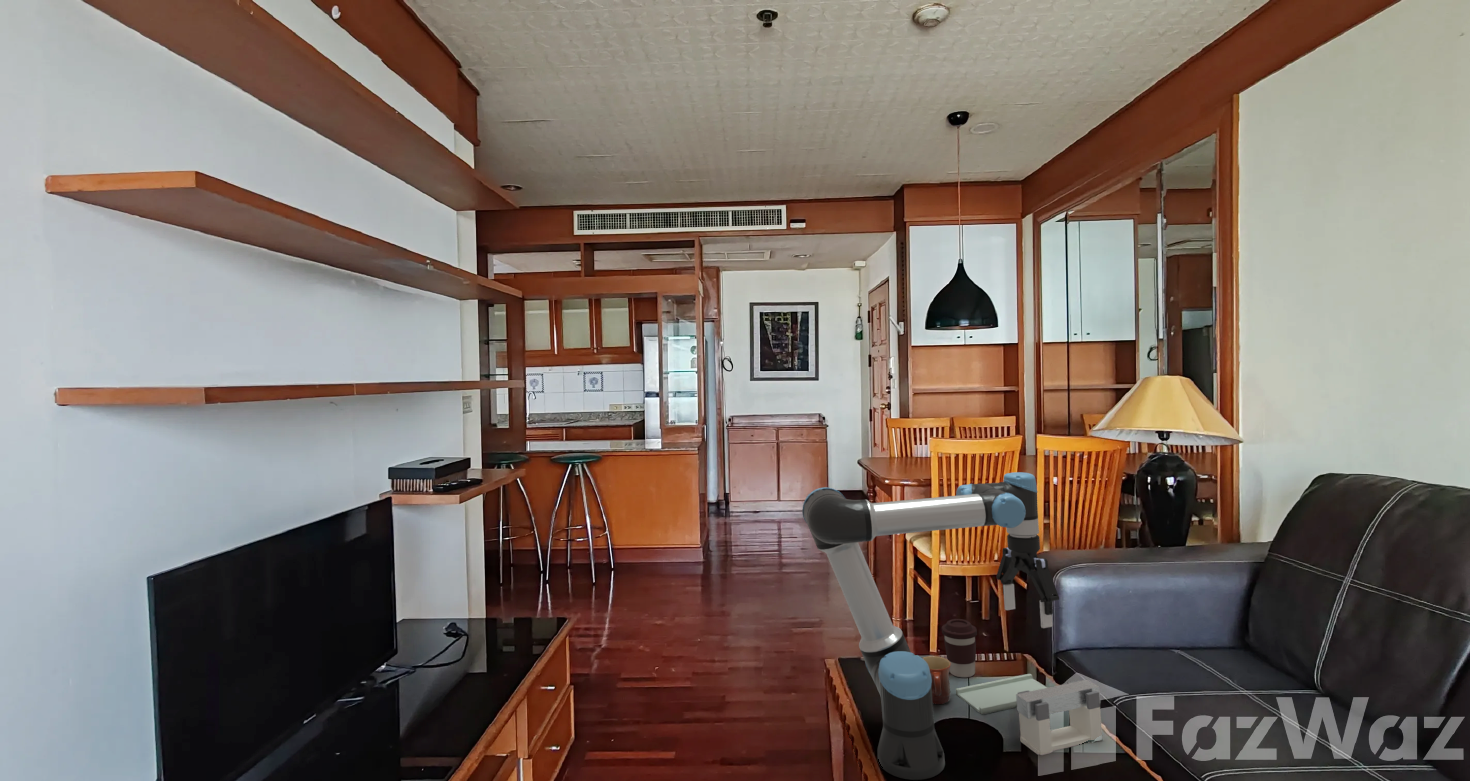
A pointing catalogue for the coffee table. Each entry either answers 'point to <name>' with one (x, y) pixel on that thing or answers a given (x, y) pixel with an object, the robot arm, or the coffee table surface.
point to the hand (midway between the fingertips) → (1027, 617)
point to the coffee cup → (960, 646)
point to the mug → (939, 679)
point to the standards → (1080, 730)
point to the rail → (1056, 698)
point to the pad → (997, 693)
